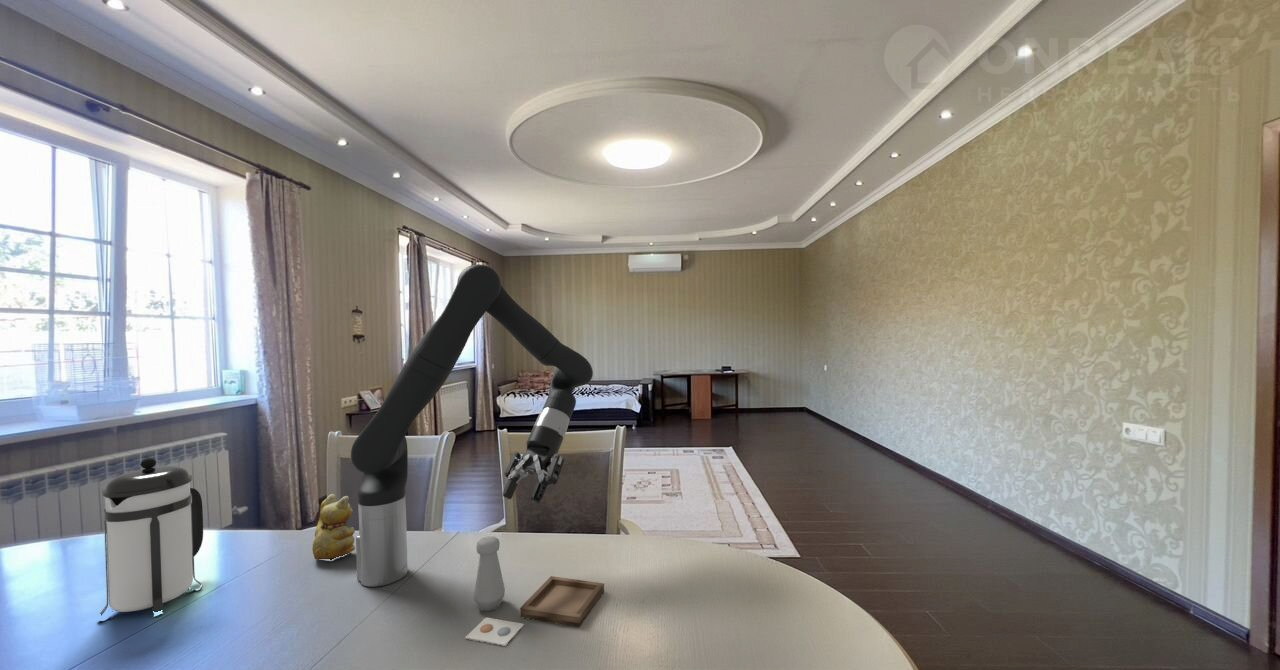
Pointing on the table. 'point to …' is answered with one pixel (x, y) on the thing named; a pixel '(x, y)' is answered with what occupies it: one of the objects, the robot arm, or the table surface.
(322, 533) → the decorative figurine
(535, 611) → the walnut tray
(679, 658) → the table surface
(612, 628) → the table surface
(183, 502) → the coffee press
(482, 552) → the salt shaker
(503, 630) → the card
